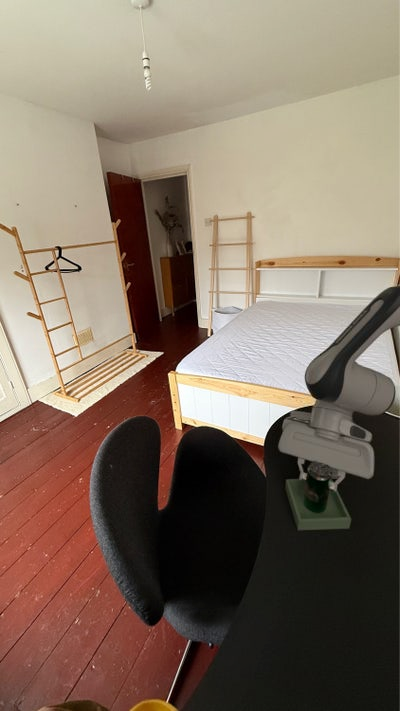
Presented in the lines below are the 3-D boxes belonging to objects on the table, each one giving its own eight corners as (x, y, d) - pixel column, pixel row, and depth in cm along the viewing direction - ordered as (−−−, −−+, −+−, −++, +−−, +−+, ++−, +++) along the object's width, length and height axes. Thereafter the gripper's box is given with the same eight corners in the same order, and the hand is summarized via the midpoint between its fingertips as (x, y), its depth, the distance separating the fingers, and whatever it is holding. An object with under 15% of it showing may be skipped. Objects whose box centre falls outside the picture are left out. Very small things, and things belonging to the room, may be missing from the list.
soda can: (299, 500, 72) (303, 463, 66) (316, 492, 73) (321, 456, 68) (313, 518, 67) (318, 480, 62) (331, 509, 69) (338, 472, 63)
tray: (329, 486, 75) (331, 477, 74) (349, 528, 65) (351, 519, 64) (285, 487, 76) (285, 479, 74) (297, 530, 66) (298, 521, 64)
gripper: (283, 411, 72) (269, 469, 69) (380, 436, 62) (369, 504, 59) (287, 416, 77) (274, 470, 74) (377, 439, 68) (367, 502, 64)
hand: (317, 485), depth 66 cm, fingers closed on soda can, 5 cm apart
